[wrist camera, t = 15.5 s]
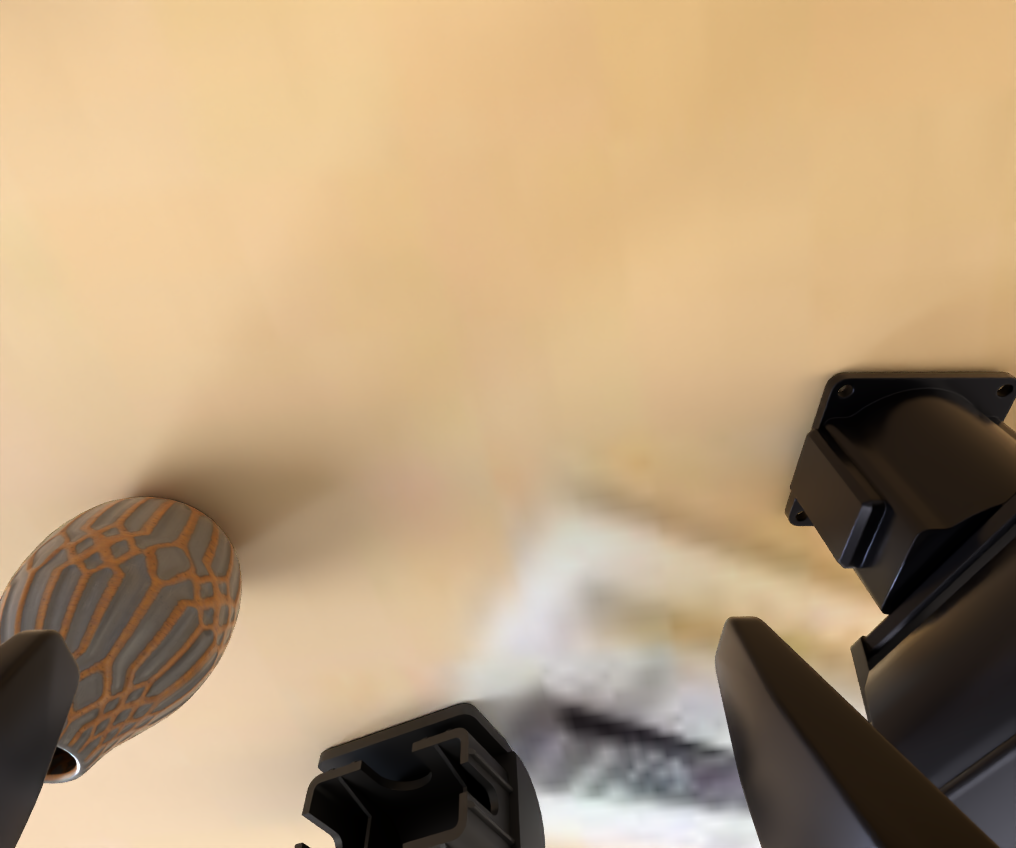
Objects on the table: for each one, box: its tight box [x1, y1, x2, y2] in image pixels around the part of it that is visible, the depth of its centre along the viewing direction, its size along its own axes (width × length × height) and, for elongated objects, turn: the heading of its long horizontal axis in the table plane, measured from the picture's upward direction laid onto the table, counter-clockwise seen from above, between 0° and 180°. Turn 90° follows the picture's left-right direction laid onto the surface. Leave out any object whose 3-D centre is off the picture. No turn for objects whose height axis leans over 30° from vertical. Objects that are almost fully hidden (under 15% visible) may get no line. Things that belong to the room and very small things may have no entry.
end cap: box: [295, 704, 545, 848], centre depth 31 cm, size 10×7×7 cm
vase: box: [0, 497, 241, 783], centre depth 21 cm, size 7×7×9 cm
